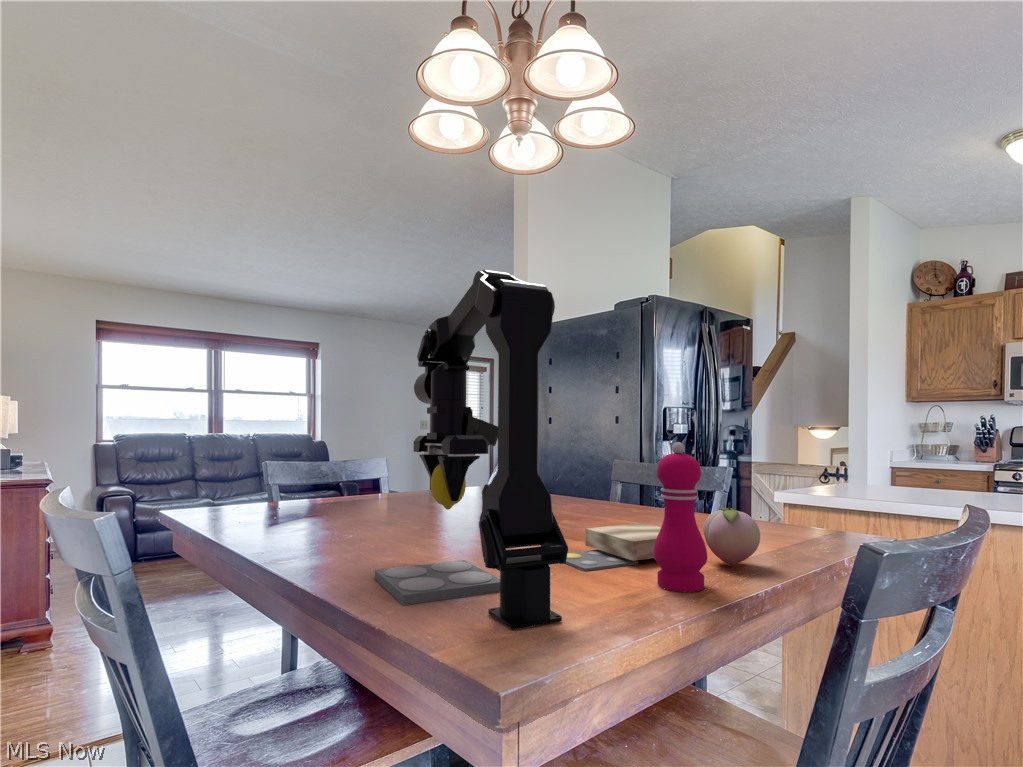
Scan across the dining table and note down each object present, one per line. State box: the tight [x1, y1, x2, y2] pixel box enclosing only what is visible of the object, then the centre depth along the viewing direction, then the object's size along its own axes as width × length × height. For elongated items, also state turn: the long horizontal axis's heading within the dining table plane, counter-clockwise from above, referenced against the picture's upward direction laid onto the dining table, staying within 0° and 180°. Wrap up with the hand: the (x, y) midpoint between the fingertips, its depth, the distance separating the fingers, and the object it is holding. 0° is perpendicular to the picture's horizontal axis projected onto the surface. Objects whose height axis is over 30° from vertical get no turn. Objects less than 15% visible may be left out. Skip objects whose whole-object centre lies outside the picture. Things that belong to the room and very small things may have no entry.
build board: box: [374, 559, 500, 606], centre depth 80 cm, size 14×14×1 cm
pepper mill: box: [653, 441, 708, 593], centre depth 80 cm, size 7×7×20 cm
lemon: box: [430, 464, 467, 511], centre depth 91 cm, size 6×6×8 cm
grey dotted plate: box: [565, 549, 639, 572], centre depth 94 cm, size 10×10×1 cm
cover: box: [584, 522, 661, 561], centre depth 99 cm, size 13×13×3 cm
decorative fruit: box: [702, 502, 761, 567], centre depth 92 cm, size 9×8×10 cm
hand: (448, 499), depth 90 cm, fingers closed on lemon, 5 cm apart
